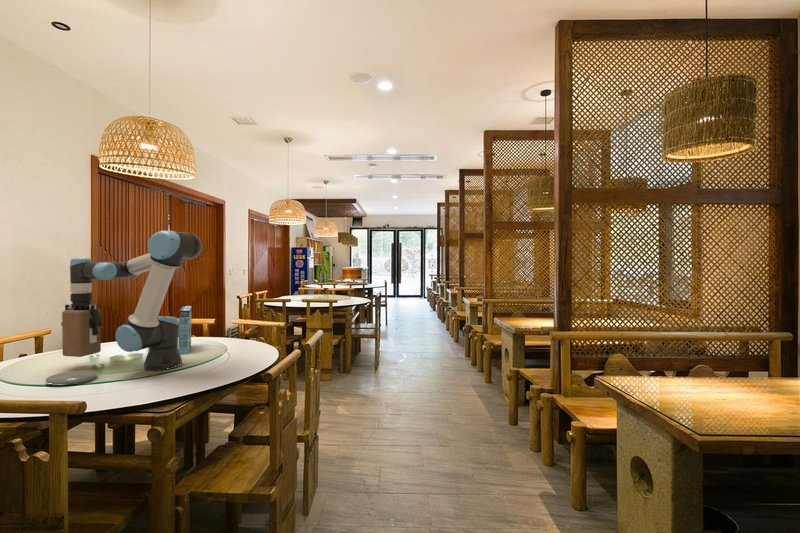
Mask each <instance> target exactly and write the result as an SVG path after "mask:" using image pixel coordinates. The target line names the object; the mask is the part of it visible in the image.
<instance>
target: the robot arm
mask: <svg viewBox="0 0 800 533" xmlns="http://www.w3.org/2000/svg"><path fill="white" fill-rule="evenodd" d="M147 249H148V253H146V254H143V255H140V256H137V257H133V258H131V259H129V260H126V261H122V262H120V261H119V262H118V261H116V262H115V261H114V262H113V261H111V262H107V261H105V262H104V261H102V262H93V260H92V258H90V257H73V258H71V259H70V262H69V278H70V279H69V280H70V283H69V285H70V288H69V289H70V293H71V294H70V302H71V303H70V304H69V303H68V304H65V305H64V311H65V310H90V309H91V314H92V317H93V319H89V324H90V326H91V328H90V343H95V342H97V334H98V327H100V328H101V327H102V326H103V323H102V320H101V315H100V316H99V312H98V309H99V305H98V304H92V301H93V293H92V291H93V280H101V281H107V280H112V279H113V280H115V279H119V280H120V279H134V278H138V277H139V275H141V274H142V273H146V272H148V275H147V277H146V280H145V283H144V286H143V288H142V291H141V293H140V296H139V300H138V303H137V305H136V307H135V311H134V313H132V314H130V315H129V316H128V317H127V319H126V323H125V324H122V325H121V326H119V327H117V329H116V332H115V335H114V336H115V341H116V342H117V345H118V347H119V348H120V349H121V350H123V351H124V352H128V353H133V352H138V351H141V350H145V349H148V352H147V354H146V358H145V360H144V364H143V368H144V370H146V371H147V370H148V371H163V370H162V369H165V370H168V369H167V368H171V369H173V368H172V367H175V366H178V365H180V364H182V365H183V358H182V354H181V355H180V352H179V350H178V336H179V318H178V317H176V316H169V315H168V316H163V315H162V316H161V315H159V314H160V311H161V308H162V306H163V303H164V299H165V297H166V294H167V293H168V289H169V287H170V284H171V281H172V280H173V279H172V278H173V276H174V274H175V271H176V269H178V268H181V266H182V264H183V262H185V261H188V260H192V259H195V258H197V257H198V256H199V255H200V253H201V252H202V249H203V243H202V241H201V239H200V238H199V236H198V235H196V234H195V233H192V232H185V231H184V232H183V231H175V230H174V231H173V230H159V231H157V232H155V233H154V234H152V235H151V237H149V239H148V241H147ZM60 325H61V327H62V323H61V324H60ZM178 367H179V366H178ZM175 368H176V367H175Z"/></svg>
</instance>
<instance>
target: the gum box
mask: <svg viewBox="0 0 800 533" xmlns="http://www.w3.org/2000/svg"><path fill="white" fill-rule="evenodd" d="M192 308H193V306H192V305H186V306H185V305H182V306H181V308H180V309H179V310H178V325H179V326H178V350H179V352H180V354H181V355H188V354H189V353H190V350H191V348H192Z"/></svg>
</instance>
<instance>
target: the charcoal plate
mask: <svg viewBox="0 0 800 533" xmlns="http://www.w3.org/2000/svg"><path fill="white" fill-rule="evenodd" d="M97 377H98V371H96V370H89V369H87V370H72V371H66V372H61V373H57V374H56V373H55V374H53V375H50V376H48V377H47V378H45V383H46V382H47V383H52V384H71V385H76V384H75V383H77V384H81V382H82V383H84V382H87V381H92V380H93V379H96V378H97Z"/></svg>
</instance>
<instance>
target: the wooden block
mask: <svg viewBox="0 0 800 533" xmlns="http://www.w3.org/2000/svg"><path fill="white" fill-rule="evenodd" d="M61 312H62V313H61V324H62V326H61V327H62V328H61V332H62V333H61V334H62V335H61V336H62V337H61V338H62V340H61V341H62V342H61V343H62V356H64V357H73V358H74V357H75V358H82V357H87V356H90V355H94V354H98V353H100V352H101V350H102V349H101V345H102V344H101V342H102V341H101V340H102V339H101V326H100V327H98V334H97V342H95V343H90V328H91V326H90V324H89V319H93V317H92V314H91V309H90V310H65V309H64V311H63V310H62V311H61ZM98 312H99V316H100V317H101V310H100V309H99V308H98Z"/></svg>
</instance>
